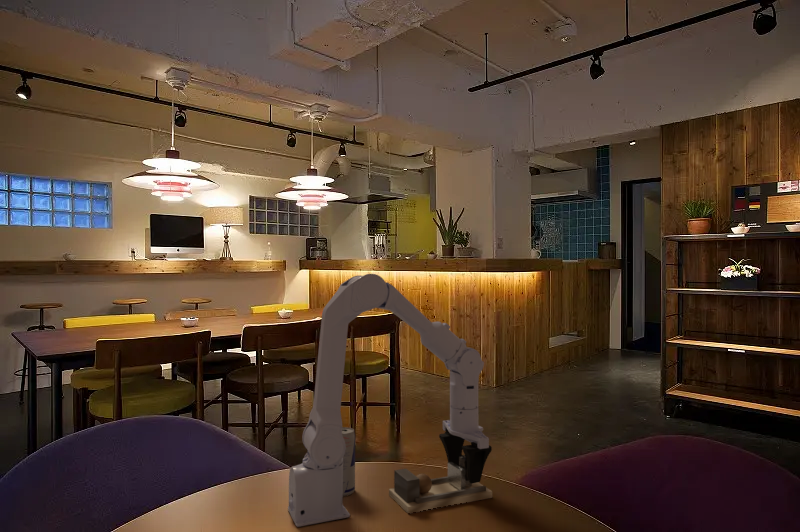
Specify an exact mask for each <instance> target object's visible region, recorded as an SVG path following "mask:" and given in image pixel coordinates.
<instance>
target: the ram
mask: <svg viewBox="0 0 800 532" xmlns="http://www.w3.org/2000/svg"><path fill="white" fill-rule="evenodd" d="M447 476H448V482H449V483H451V484H452V485H453V486H455V487H456V488H458V489H459V490H463V489H465V487H471V486H472V483H470V482H469V478H468V468H467V461H466V457H465V454H462V455H460V456H459V466H458V465H456V464H455V463H453V462H448V461H447Z"/></svg>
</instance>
